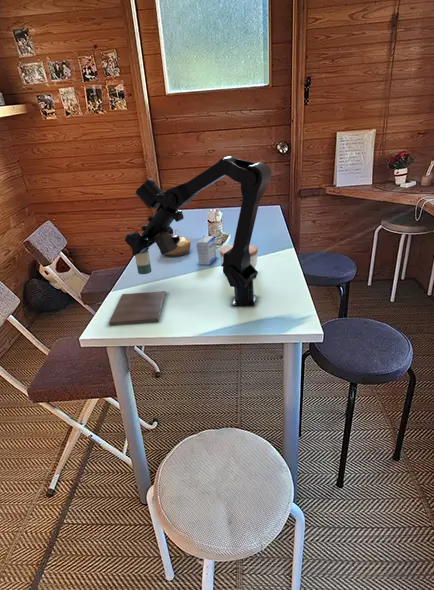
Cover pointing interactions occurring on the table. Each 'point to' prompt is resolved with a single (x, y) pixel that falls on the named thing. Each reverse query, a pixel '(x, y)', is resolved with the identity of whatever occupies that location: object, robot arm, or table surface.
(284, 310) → the table surface
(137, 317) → the desk board
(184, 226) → the table surface
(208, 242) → the medicine box
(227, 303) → the table surface
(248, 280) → the robot arm
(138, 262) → the glue bottle
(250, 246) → the lidded bowl
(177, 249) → the pastry
